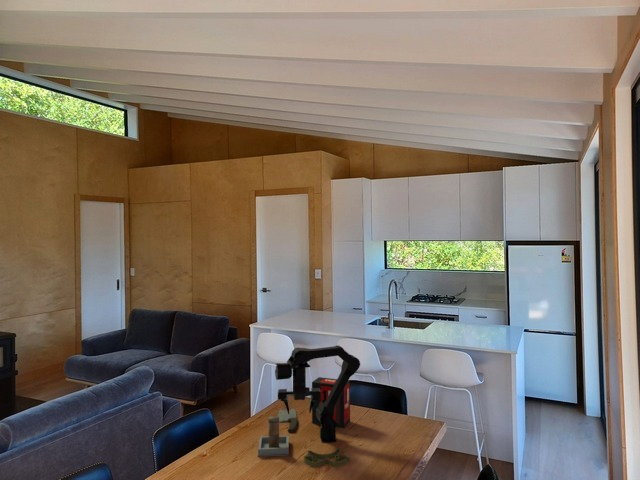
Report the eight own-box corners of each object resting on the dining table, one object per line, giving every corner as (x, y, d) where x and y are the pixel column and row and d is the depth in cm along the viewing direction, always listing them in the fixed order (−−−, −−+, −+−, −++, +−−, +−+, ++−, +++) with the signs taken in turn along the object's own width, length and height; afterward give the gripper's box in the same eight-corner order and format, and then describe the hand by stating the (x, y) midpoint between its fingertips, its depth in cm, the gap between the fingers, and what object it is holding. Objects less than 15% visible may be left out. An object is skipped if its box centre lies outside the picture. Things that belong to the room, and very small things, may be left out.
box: (288, 442, 196) (288, 435, 196) (288, 455, 183) (288, 448, 183) (260, 443, 195) (260, 436, 195) (258, 456, 182) (258, 449, 182)
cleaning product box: (350, 421, 219) (349, 380, 219) (344, 428, 211) (343, 385, 211) (319, 416, 225) (318, 377, 225) (312, 423, 217) (311, 382, 217)
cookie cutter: (344, 452, 187) (344, 447, 187) (351, 466, 175) (351, 460, 175) (302, 455, 184) (302, 450, 184) (306, 470, 172) (306, 464, 172)
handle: (280, 445, 191) (280, 416, 191) (277, 450, 186) (277, 420, 187) (270, 444, 192) (270, 415, 192) (267, 449, 187) (266, 419, 188)
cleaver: (299, 433, 206) (299, 428, 206) (278, 434, 205) (278, 429, 205) (295, 410, 235) (295, 406, 235) (276, 411, 234) (276, 407, 234)
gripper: (277, 383, 187) (277, 421, 186) (321, 382, 188) (321, 419, 188) (278, 376, 198) (278, 411, 197) (319, 375, 199) (320, 410, 199)
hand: (299, 413), depth 195 cm, fingers open, 9 cm apart
